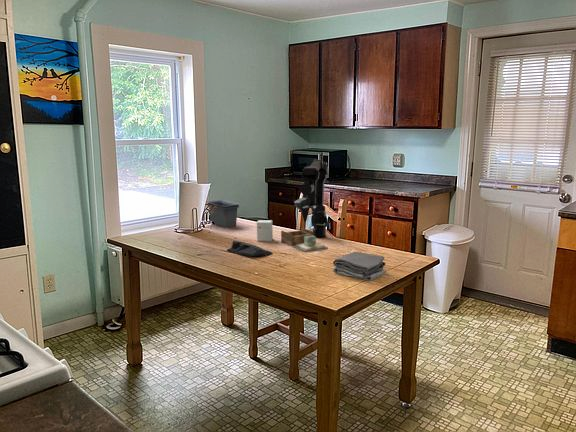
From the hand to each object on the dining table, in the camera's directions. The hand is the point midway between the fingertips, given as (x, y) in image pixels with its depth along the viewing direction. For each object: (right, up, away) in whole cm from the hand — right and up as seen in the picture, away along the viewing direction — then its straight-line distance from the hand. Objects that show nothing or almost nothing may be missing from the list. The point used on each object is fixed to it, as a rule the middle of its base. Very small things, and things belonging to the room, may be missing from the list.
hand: (310, 223), depth 234 cm
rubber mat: (0, -13, +2) cm, 13 cm away
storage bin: (-53, -2, +57) cm, 78 cm away
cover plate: (0, -12, +2) cm, 12 cm away
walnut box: (-6, -11, +13) cm, 18 cm away
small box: (-24, -10, +19) cm, 32 cm away
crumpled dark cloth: (-30, -15, -5) cm, 34 cm away
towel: (+19, -21, -38) cm, 48 cm away
